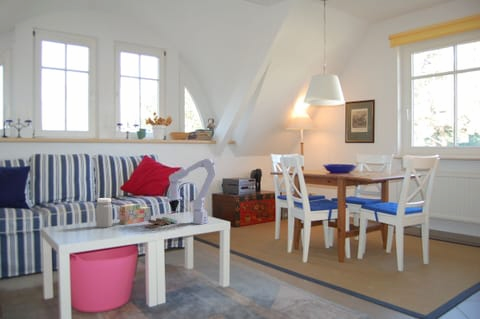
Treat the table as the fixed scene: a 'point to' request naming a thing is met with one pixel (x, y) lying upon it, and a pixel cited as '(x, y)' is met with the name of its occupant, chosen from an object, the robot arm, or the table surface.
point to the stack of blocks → (134, 214)
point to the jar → (104, 213)
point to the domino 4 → (169, 219)
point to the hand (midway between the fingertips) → (174, 211)
